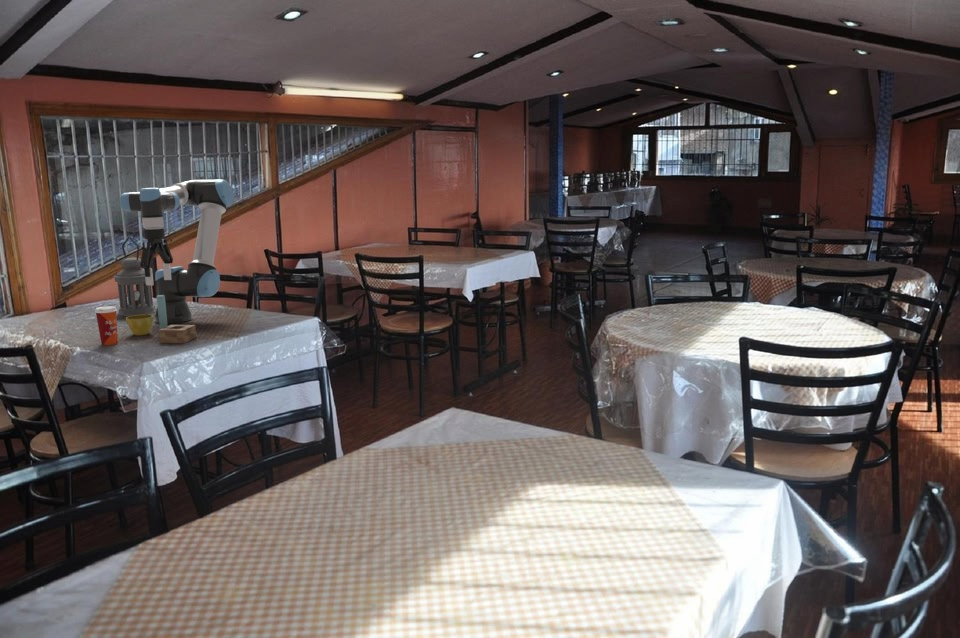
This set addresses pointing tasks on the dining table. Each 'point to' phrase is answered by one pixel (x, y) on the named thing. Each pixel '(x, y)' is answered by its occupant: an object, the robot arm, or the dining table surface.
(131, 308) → the lantern
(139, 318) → the flower pot
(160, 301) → the teal rectangular bar
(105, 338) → the paper cup
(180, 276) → the robot arm
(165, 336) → the wooden block with hole
